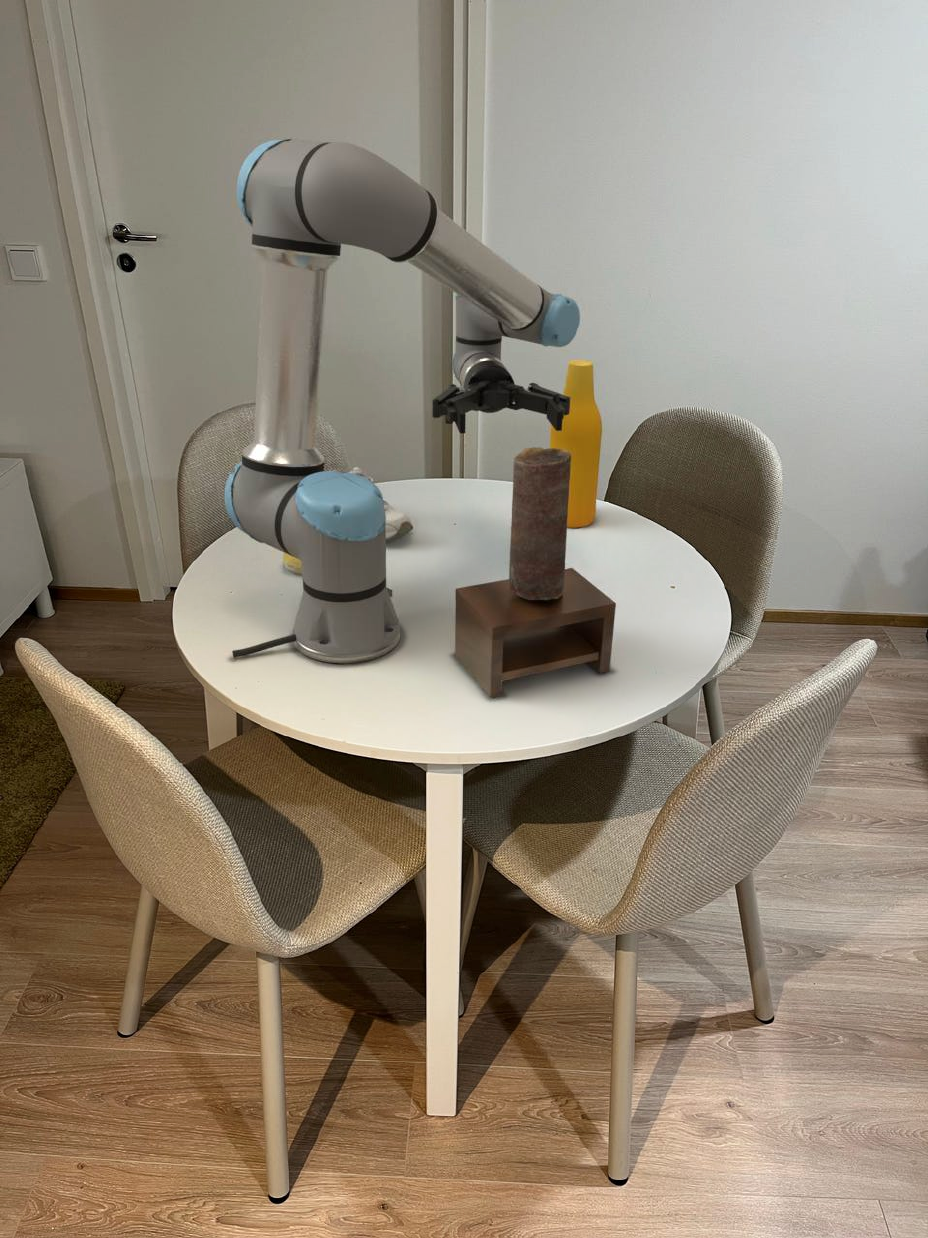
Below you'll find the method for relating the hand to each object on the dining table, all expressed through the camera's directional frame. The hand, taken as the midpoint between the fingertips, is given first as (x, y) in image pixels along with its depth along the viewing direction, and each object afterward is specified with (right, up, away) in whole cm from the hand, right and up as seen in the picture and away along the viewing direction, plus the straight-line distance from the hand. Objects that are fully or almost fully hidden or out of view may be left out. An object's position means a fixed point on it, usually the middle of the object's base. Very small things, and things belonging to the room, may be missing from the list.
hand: (511, 422), depth 135 cm
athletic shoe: (-25, -11, +42) cm, 50 cm away
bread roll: (-32, -18, +28) cm, 46 cm away
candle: (+3, -24, -4) cm, 25 cm away
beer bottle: (+13, -9, +47) cm, 50 cm away
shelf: (+3, -33, +1) cm, 33 cm away
